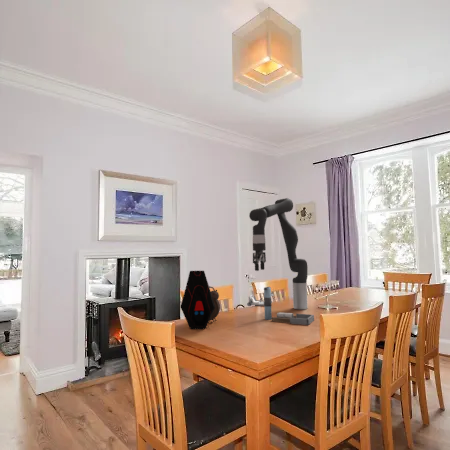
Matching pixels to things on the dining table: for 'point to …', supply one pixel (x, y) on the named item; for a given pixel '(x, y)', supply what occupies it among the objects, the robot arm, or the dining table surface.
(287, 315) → the chip
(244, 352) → the dining table surface
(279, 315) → the chip
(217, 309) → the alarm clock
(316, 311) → the dining table surface
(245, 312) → the dining table surface
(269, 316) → the rod
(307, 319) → the tray
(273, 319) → the slot rails
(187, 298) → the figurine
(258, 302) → the phone holder
